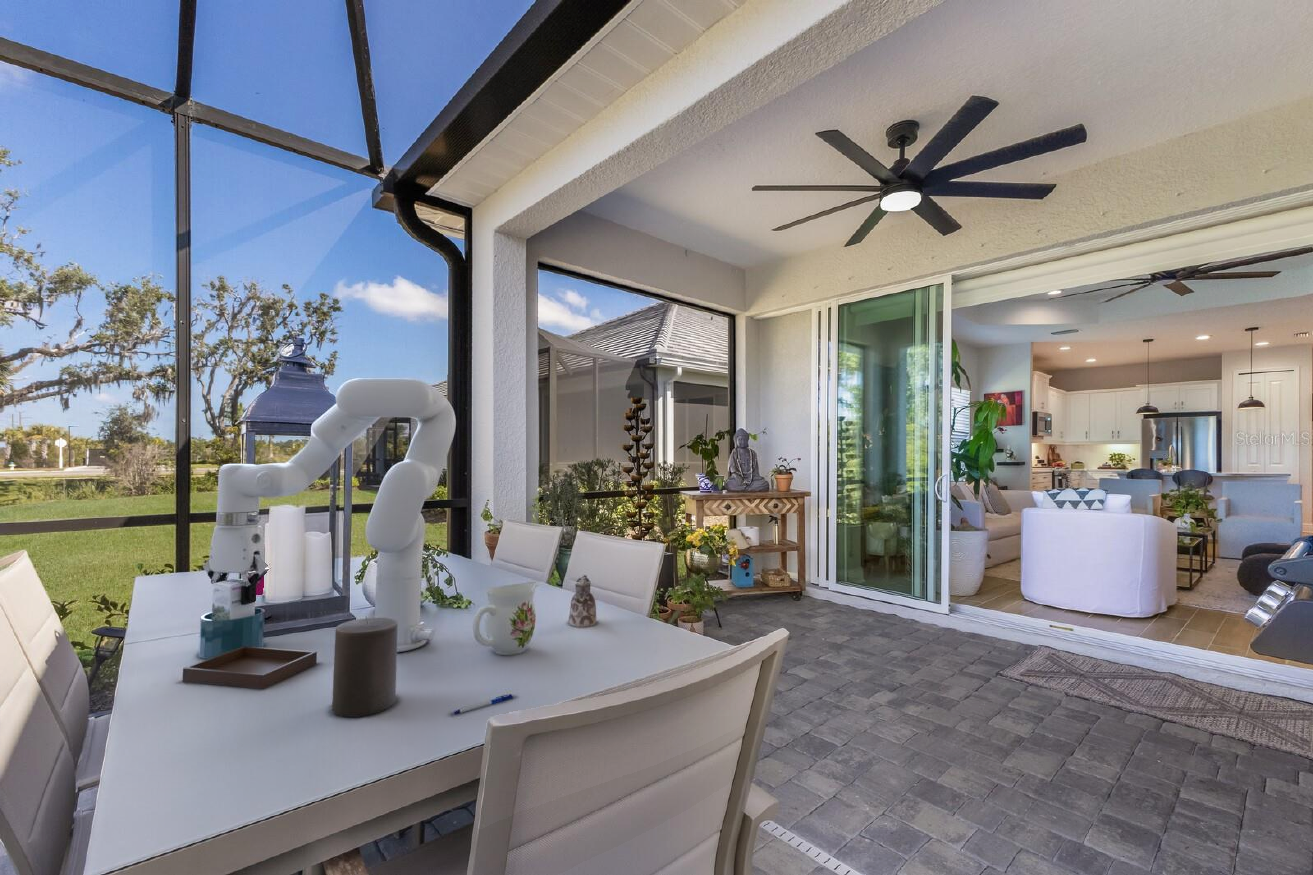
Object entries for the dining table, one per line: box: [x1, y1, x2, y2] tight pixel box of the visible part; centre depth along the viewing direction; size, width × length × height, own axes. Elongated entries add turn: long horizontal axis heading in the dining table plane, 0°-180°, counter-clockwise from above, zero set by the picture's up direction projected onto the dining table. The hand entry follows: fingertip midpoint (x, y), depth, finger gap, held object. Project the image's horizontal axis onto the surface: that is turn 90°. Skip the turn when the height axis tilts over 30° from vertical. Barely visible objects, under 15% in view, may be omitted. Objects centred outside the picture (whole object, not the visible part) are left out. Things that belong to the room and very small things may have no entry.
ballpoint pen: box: [453, 693, 514, 715], centre depth 99 cm, size 10×1×1 cm, turn 133°
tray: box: [181, 646, 318, 690], centre depth 112 cm, size 17×13×2 cm
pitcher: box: [472, 581, 540, 656], centre depth 127 cm, size 11×18×14 cm, turn 146°
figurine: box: [568, 574, 597, 628], centre depth 150 cm, size 7×7×12 cm
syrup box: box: [211, 578, 255, 620], centre depth 125 cm, size 6×6×14 cm
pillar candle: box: [331, 616, 398, 718], centre depth 98 cm, size 10×10×15 cm
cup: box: [198, 607, 266, 660], centre depth 125 cm, size 11×11×8 cm
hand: (234, 601), depth 125 cm, fingers closed on syrup box, 6 cm apart
